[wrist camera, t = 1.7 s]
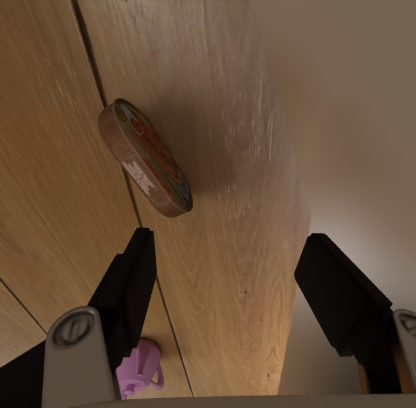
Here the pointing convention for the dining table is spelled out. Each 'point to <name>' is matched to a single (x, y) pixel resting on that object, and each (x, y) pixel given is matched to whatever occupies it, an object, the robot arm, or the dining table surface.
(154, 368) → the teapot
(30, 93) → the dining table surface
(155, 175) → the tin
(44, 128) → the dining table surface
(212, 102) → the dining table surface
